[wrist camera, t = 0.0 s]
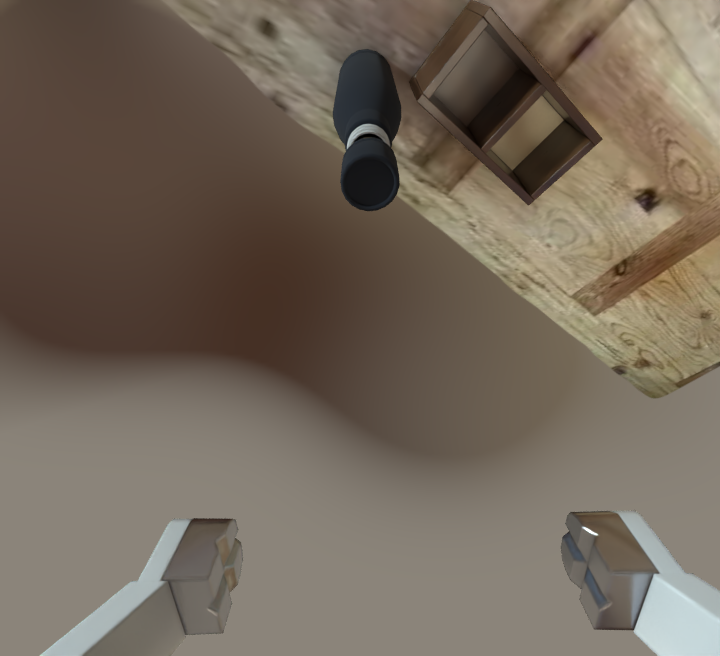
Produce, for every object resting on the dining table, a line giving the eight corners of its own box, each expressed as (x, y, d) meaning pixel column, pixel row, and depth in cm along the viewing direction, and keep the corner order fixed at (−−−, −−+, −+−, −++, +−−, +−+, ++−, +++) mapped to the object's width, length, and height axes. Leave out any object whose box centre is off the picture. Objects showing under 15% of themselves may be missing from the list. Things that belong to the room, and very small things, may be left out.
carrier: (471, -1, 44) (490, 6, 37) (572, 116, 52) (602, 139, 45) (409, 82, 49) (416, 101, 43) (509, 177, 57) (528, 205, 50)
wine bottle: (361, 35, 46) (363, 108, 24) (403, 76, 49) (440, 177, 26) (327, 85, 49) (301, 191, 27) (368, 122, 52) (375, 245, 30)
